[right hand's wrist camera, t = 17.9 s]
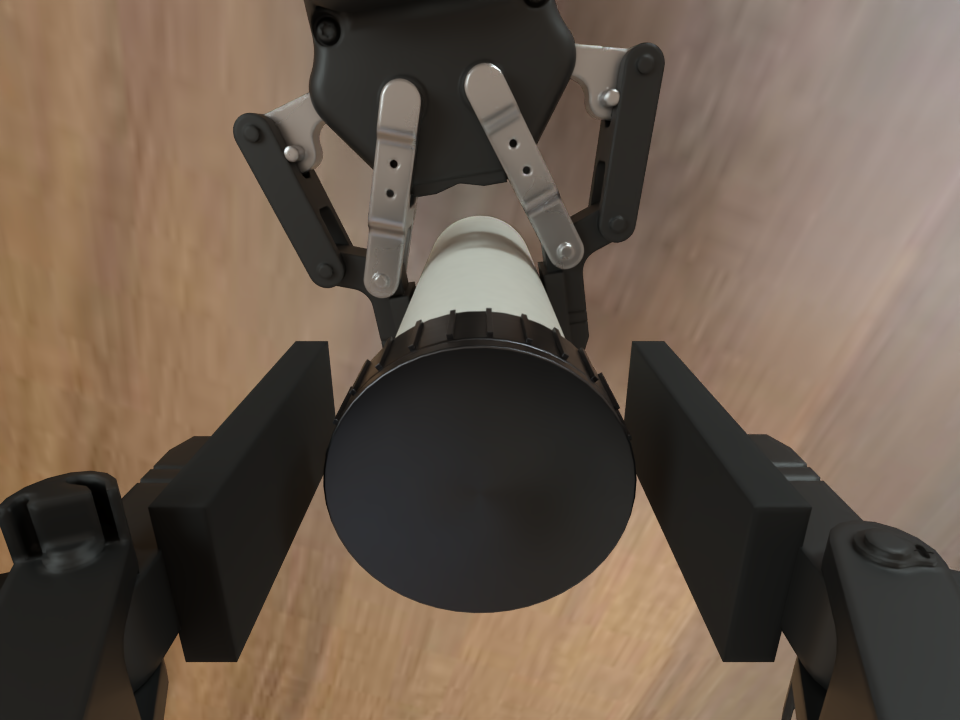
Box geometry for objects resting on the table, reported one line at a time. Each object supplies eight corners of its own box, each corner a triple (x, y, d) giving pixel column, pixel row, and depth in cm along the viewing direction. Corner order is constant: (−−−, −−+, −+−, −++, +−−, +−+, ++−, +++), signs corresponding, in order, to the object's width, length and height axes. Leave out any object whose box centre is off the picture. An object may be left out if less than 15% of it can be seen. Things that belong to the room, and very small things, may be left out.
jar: (446, 326, 29) (400, 591, 12) (416, 232, 27) (313, 388, 10) (541, 300, 28) (629, 539, 12) (516, 202, 26) (576, 317, 10)
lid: (659, 352, 11) (694, 396, 10) (559, 572, 13) (573, 644, 11) (380, 268, 11) (359, 297, 9) (319, 511, 13) (291, 577, 11)
